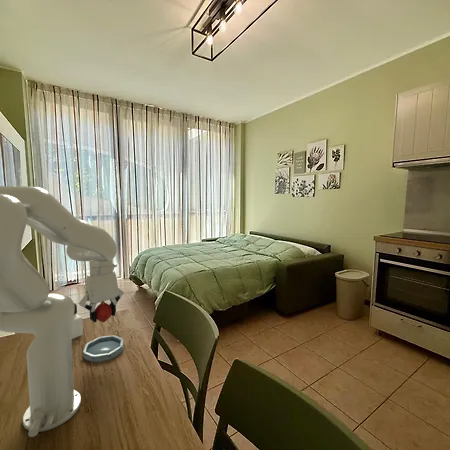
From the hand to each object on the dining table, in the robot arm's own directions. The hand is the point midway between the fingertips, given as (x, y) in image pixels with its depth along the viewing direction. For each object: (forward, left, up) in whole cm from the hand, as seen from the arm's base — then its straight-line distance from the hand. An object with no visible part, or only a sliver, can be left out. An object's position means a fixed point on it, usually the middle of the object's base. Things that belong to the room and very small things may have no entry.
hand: (103, 317), depth 92 cm
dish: (0, 0, -13) cm, 13 cm away
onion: (0, 0, -2) cm, 2 cm away
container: (+15, +15, -13) cm, 25 cm away
